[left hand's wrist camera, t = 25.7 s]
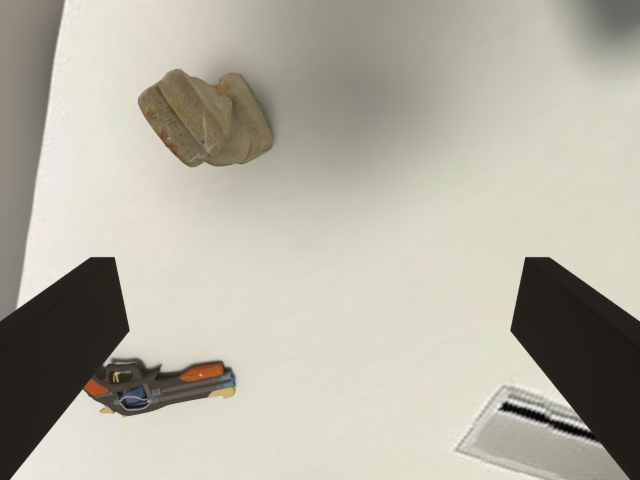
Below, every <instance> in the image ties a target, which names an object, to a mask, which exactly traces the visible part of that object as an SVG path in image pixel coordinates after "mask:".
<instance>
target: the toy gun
mask: <svg viewBox="0 0 640 480" xmlns="http://www.w3.org/2000/svg"><path fill="white" fill-rule="evenodd" d="M105 371H106V376H105V375H103V374H102V373H101V372H100V371H99V370H98V371H97V372H96V373H95V374H94V376H93V377H92V378H91V379H90V381H89V382H88V383H87V384H86V386H85V387H84V388H83V390H84V391H85V392H86V393H87V394H88V395H89V397H92V398H93V399H94V400H95V401H97V402H100V403H102V404H104V405H105V408H103V409H101V410H100V411H99V412H101V413H111V414H114V413H115V412H118V413H119V414H121V415H122V417H126V416H132V415H137V414H142V413H146V412H150V411H154V410H157V409H159V408H162V407H164V406H167V405H170V404H175V403H180V402H185V401H190V400H195V399H201V398H209V397H215V396H220V395H223V398H224V399H226V398H228V397H231V396H234V394H235V387H234V386H235V380H234V378H232V372H231V371H229V372H228V370H226V371H225V370H224V367H223V365H222V363H216V364H210V365H204V366H198V367H193V368H190V369H189V370H187V371H186V372H184V373H183V374H181V375H180V376H175V377H170V378H156V376H157V375H158V373H159V371H160V368H158V369H157V370H155V371H153V372H151V373H148V374H144V373H143V371H142V368H141V367H140V366H139V365H138V364H137V363H130V364H108V365H107V366H106V367H105ZM111 371H116V372H115V373H114V376H113V378H112V375H111ZM122 371H132V374H133V377H131V378H126V379H121V380H119V378H118V374H120V373H121V372H122ZM115 375H116V379H115ZM133 388H134V389H133ZM128 389H132V390H131V391H129V392H128V393H127V394H126V392H127V390H128ZM124 390H126V391H125V393H124V394H123V393H122V391H124ZM150 397H151V398H150ZM149 399H151V402H148V403H146V402H147V400H149ZM126 403H127V404H126Z"/></svg>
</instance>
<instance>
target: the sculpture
mask: <svg viewBox="0 0 640 480" xmlns="http://www.w3.org/2000/svg"><path fill="white" fill-rule="evenodd" d="M138 104H139V107H140V109H141V111H142V113H143V115H144V116H145V118H146V120H147V121H148V123H149V124H150V125H151V127H152V128H153V130H154V131H155V132H156V134H157V135H158V136H159V137H160V138H161V140H162V141H163V142H164V144H165V146H166V147H168V148H169V149H170V151H171V152H172V153H173V154H174V155H175V156H176V157H177V158H179V159H180V160H181V161H182V162H183V163H184V164H186V165H187V166H189V167H197V166H198V165H200V164H202V163H203V162H206V163H208V164H210V165H213V166H227V165H232V164H236V163H238V164H245V163H247V162H249V161H251V160H253V159H255V158H257V157H259V156H260V155H262V154H263V153H265V152H267V151H268V150H270V149H271V148H272V145H273V142H272V137H273V135H272V132H271V130H270V128H269V126H268V123H267V121H266V119H265V117H264V115H263V112H262V110H261V108H260V106H259V104H258V103H257V101H256V99H255V97H254V95H253V94H252V92H251V91H250V89H249V87H248V86H247V84H246V83H245V81H244V80H243V78H242V77H241V76H240V75H239V74H237V73H229V74H227V75H225V76H223V77H222V78H221V79H220V82H219V85H218V86H217V87H214V86H211V85H209V84H207V83H206V82H204V81H203V80H201V79H199V78H196V77H190V76H189V75H187V74H186V73H185V72H184V71H182V70H181V69H175V70H172V71H169V72H168V73H167V74H166V75H165V76H164V78H163V79H162V80H160V81H159V82H158V83H156V84H154V85H153V86H151V87H149V88H148V89H146V90H145V91H144V92H143V93H142V94H141V95H140V96H139V98H138Z"/></svg>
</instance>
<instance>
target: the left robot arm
mask: <svg viewBox="0 0 640 480" xmlns="http://www.w3.org/2000/svg"><path fill="white" fill-rule="evenodd" d="M129 331H130V330H129V325H128V320H127V315H126V310H125V305H124V301H123V296H122V291H121V286H120V281H119V276H118V271H117V266H116V261H115V257H90V258H89V259H87V260H86V261H85V262H83V263H82V264H80V265H79V266H78V267H76V268H75V269H73V270H72V271H71V272H69V273H68V274H66V275H65V276H64V277H62V278H61V279H59V280H58V281H56V282H55V283H54V284H52V285H51V286H49V287H48V288H47V289H45V290H44V291H42V292H41V293H40V294H38V295H37V296H35V297H34V298H33V299H31V300H30V301H28V302H27V303H26V304H24V305H23V306H21V307H20V308H18V309H17V310H16V311H14V312H13V313H11V314H10V315H9V316H7V317H6V318H4V319H3V320H2V321H0V480H10V479H11V478H12V476H13V475H14V474H15V473H16V471H17V470H18V469H19V468H20V466H21V465H22V464H23V463H24V461H25V460H26V459H27V458H28V456H29V455H30V454H31V453H32V451H33V450H34V449H35V448H36V447H37V445H38V444H39V443H40V442H41V440H42V439H43V438H44V437H45V435H46V434H47V433H48V432H49V430H50V429H51V428H52V427H53V425H54V424H55V423H56V422H57V420H58V419H59V418H60V417H61V415H62V414H63V413H64V412H65V410H66V409H67V408H68V407H69V406H70V404H71V403H72V402H73V401H74V399H75V398H76V397H77V396H78V394H79V393H80V392H81V391H82V389H83V388H84V387H85V386H86V384H87V383H88V382H89V381H90V379H91V378H92V377H93V376H94V374H95V373H96V372H97V371H98V369H99V368H100V367H101V366H102V365H103V363H104V362H105V361H106V360H107V358H108V357H109V356H110V355H111V353H112V352H113V351H114V350H115V348H116V347H117V346H118V345H119V343H120V342H121V341H122V340H123V338H124V337H125V336H126V335H127V333H128V332H129ZM510 331H511V332H512V333H513V335H514V336H515V337H516V338H517V340H518V341H519V342H520V343H521V345H522V346H523V347H524V348H525V350H526V351H527V352H528V353H529V355H530V356H531V357H532V358H533V360H534V361H535V362H536V363H537V365H538V366H539V367H540V368H541V369H542V371H543V372H544V373H545V374H546V376H547V377H548V378H549V379H550V381H551V382H552V383H553V384H554V386H555V387H556V388H557V389H558V391H559V392H560V393H561V394H562V396H563V397H564V398H565V399H566V401H567V402H568V403H569V404H570V406H571V407H572V408H573V409H574V410H575V412H576V413H577V414H578V415H579V417H580V418H581V419H582V420H583V422H584V423H585V424H586V425H587V427H588V428H589V429H590V430H591V432H592V433H593V434H594V435H595V437H596V438H597V439H598V440H599V442H600V443H601V444H602V445H603V447H604V448H605V449H606V450H607V451H608V453H609V454H610V455H611V456H612V458H613V459H614V460H615V461H616V463H617V464H618V465H619V466H620V468H621V469H622V470H623V471H624V473H625V474H626V475H627V476H628V478H629V479H630V480H640V321H638V320H637V319H636V318H634V317H633V316H631V315H630V314H629V313H627V312H626V311H624V310H623V309H622V308H620V307H619V306H617V305H616V304H614V303H613V302H612V301H610V300H609V299H607V298H606V297H605V296H603V295H602V294H600V293H599V292H598V291H596V290H595V289H593V288H592V287H591V286H589V285H588V284H586V283H585V282H584V281H582V280H581V279H579V278H578V277H576V276H575V275H574V274H572V273H571V272H569V271H568V270H567V269H565V268H564V267H562V266H561V265H560V264H558V263H557V262H555V261H554V260H553V259H551V258H550V257H525V261H524V266H523V271H522V276H521V281H520V286H519V291H518V296H517V301H516V305H515V310H514V315H513V320H512V325H511V330H510Z"/></svg>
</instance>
